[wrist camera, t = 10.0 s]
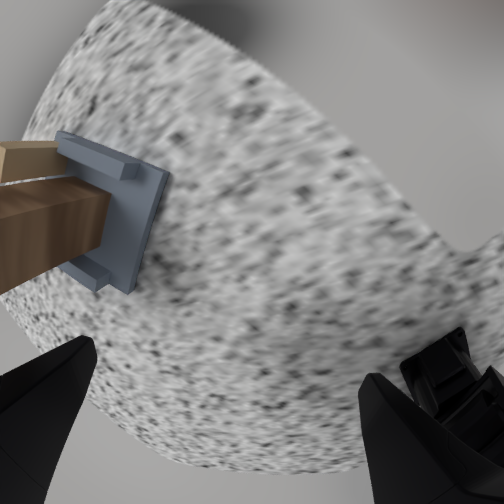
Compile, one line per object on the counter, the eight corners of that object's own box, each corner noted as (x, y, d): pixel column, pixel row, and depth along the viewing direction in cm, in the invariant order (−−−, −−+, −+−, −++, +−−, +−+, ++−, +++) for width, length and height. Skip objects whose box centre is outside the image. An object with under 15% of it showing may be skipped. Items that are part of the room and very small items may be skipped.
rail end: (113, 192, 19) (-55, 234, 6) (101, 248, 21) (-41, 323, 8) (73, 173, 19) (-75, 200, 6) (63, 226, 21) (-68, 278, 8)
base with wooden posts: (169, 172, 19) (98, 177, 12) (133, 290, 22) (73, 337, 15) (64, 131, 19) (-5, 129, 12) (43, 232, 23) (-17, 254, 15)
